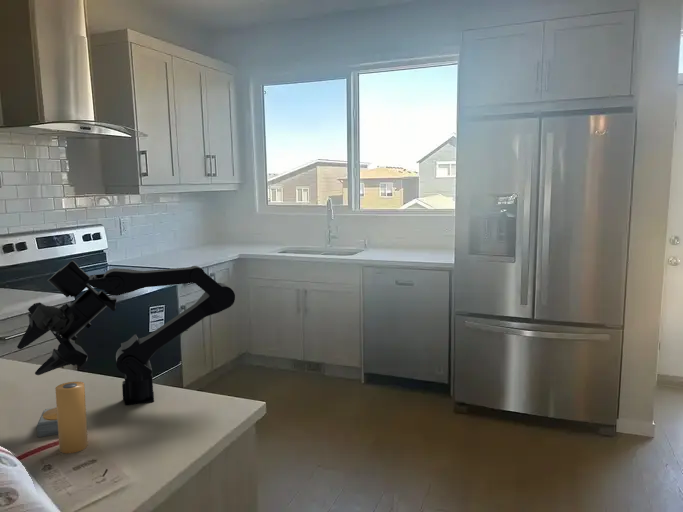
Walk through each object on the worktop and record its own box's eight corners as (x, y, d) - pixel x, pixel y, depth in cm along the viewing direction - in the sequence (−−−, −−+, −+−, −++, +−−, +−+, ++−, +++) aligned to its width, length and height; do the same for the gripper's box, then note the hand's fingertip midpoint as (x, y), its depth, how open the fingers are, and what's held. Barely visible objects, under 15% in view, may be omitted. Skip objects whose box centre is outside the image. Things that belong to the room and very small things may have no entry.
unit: (85, 415, 117) (84, 402, 117) (80, 431, 110) (80, 416, 109) (44, 421, 114) (43, 407, 114) (37, 437, 107) (36, 422, 106)
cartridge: (89, 439, 106) (85, 379, 104) (86, 450, 101) (82, 388, 100) (61, 443, 104) (57, 382, 102) (57, 455, 99) (53, 391, 98)
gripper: (40, 273, 117) (-18, 323, 114) (80, 322, 109) (18, 378, 105) (72, 293, 127) (19, 340, 123) (110, 340, 118) (55, 392, 115)
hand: (27, 361), depth 116 cm, fingers open, 9 cm apart
